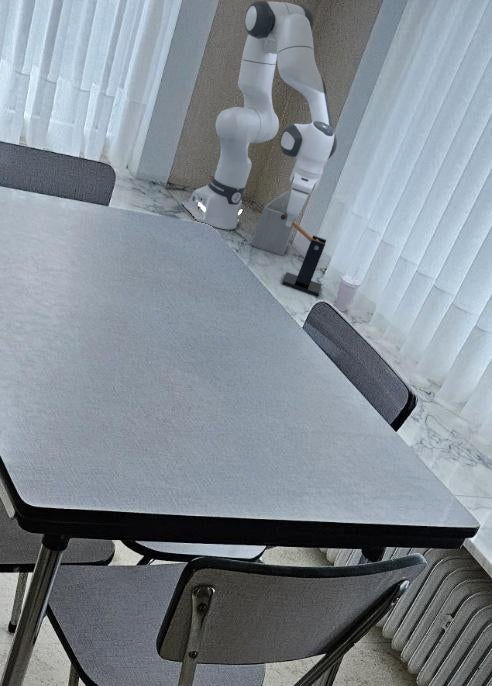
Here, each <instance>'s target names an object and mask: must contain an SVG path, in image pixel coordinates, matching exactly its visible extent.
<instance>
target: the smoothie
mask: <svg viewBox="0 0 492 686" xmlns="http://www.w3.org/2000/svg"><path fill="white" fill-rule="evenodd" d="M359 270H360V267H357V268H356V270H355V273H354V274H353V276H350V275H341V277H340V278H339V281H340V283H339V286H338V290H337V294H336V296H335V297H336V298H335V301H334V305H333V307H334V306H335V307H336V308H337V309H338V310H337V309H336V310H337V311H339V312H346V310H347V308H348V307H349V305H350V303H351V301H352V300H353V298H354V296H355V295H356V292H357V290H358V289H359V288H360V287H361V284H362V282H361V281H360V280H359V279H357V278H356V277H357V275H358V273H359Z"/></svg>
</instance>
